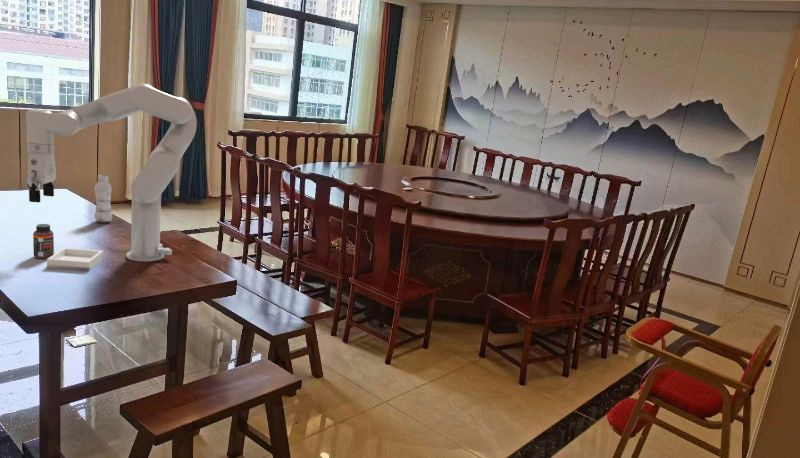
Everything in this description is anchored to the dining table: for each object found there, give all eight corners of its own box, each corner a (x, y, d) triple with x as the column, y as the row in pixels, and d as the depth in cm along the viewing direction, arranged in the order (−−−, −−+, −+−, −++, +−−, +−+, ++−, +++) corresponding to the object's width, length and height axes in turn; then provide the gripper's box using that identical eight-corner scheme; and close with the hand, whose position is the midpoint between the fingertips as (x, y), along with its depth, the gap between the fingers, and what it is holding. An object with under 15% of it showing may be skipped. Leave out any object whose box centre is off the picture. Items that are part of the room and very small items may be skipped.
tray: (103, 258, 205) (103, 250, 204) (89, 270, 192) (89, 262, 191) (64, 255, 203) (64, 247, 202) (47, 267, 190) (46, 259, 189)
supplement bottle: (44, 260, 196) (43, 228, 193) (29, 257, 197) (28, 225, 194) (58, 256, 202) (57, 224, 199) (43, 253, 203) (42, 222, 200)
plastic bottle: (115, 222, 248) (115, 176, 244) (100, 224, 243) (99, 177, 238) (106, 219, 252) (106, 173, 247) (91, 221, 246) (90, 174, 241)
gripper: (40, 152, 183) (41, 205, 187) (64, 146, 199) (65, 194, 203) (14, 150, 182) (16, 203, 186) (41, 143, 198) (42, 192, 202)
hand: (41, 198), depth 194 cm, fingers open, 9 cm apart
